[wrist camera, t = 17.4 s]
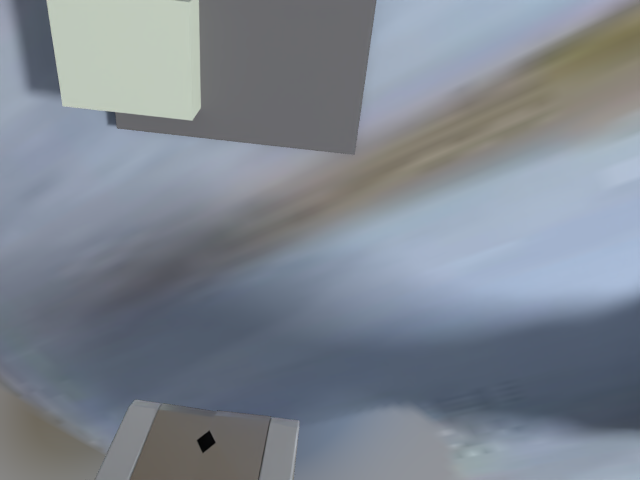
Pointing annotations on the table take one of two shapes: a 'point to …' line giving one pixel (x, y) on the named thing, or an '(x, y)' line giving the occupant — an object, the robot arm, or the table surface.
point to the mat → (277, 74)
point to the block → (128, 55)
